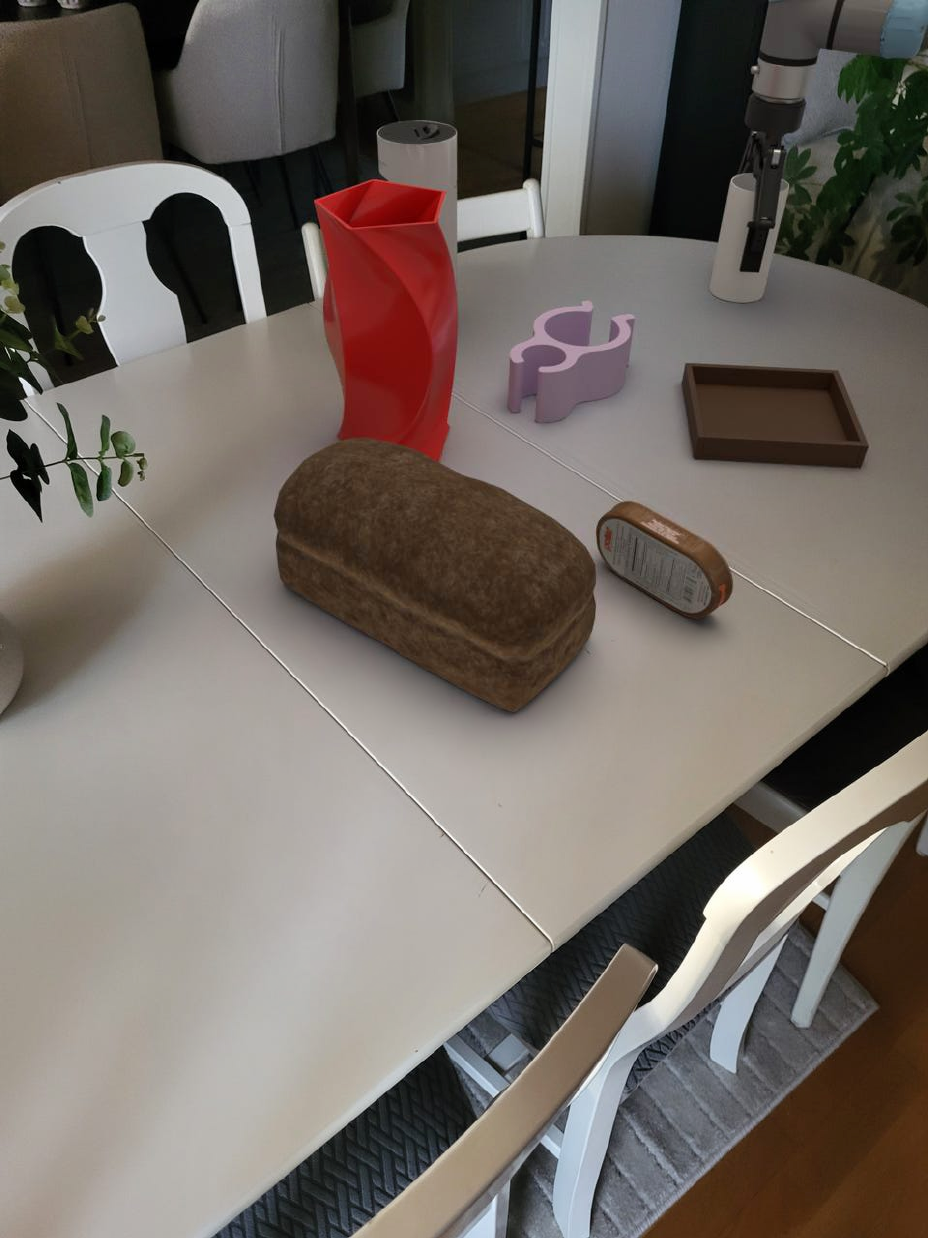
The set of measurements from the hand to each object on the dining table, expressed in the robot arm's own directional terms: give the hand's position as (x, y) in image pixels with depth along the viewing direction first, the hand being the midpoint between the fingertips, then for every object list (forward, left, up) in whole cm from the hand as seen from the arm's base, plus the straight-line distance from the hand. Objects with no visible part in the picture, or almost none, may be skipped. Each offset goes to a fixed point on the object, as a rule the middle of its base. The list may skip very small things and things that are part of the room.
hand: (743, 251), depth 141 cm
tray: (+1, +38, -6) cm, 39 cm away
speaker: (+47, +15, -6) cm, 50 cm away
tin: (+17, +71, -6) cm, 73 cm away
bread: (+39, +76, -6) cm, 86 cm away
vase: (+47, +47, -6) cm, 67 cm away
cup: (0, 0, -6) cm, 6 cm away
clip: (+26, +31, -6) cm, 41 cm away
